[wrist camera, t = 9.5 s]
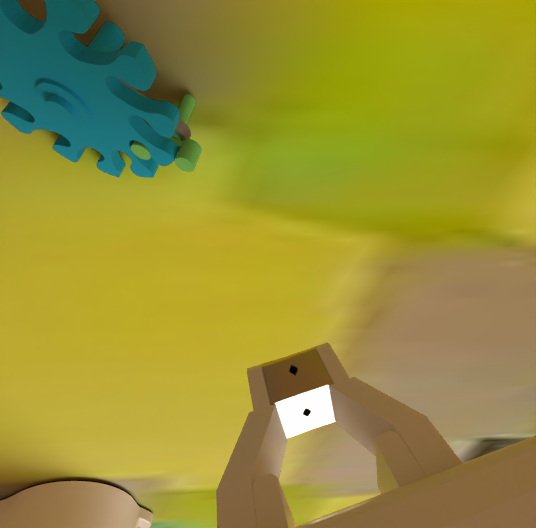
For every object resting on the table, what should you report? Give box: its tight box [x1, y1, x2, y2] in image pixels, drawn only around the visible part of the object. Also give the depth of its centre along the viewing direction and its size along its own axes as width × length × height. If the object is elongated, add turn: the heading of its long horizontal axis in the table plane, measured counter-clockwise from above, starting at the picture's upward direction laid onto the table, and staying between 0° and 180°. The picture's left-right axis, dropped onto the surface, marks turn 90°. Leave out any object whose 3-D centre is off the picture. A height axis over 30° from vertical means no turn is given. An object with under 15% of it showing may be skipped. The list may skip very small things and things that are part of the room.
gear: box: [0, 0, 201, 177], centre depth 14 cm, size 11×6×10 cm
